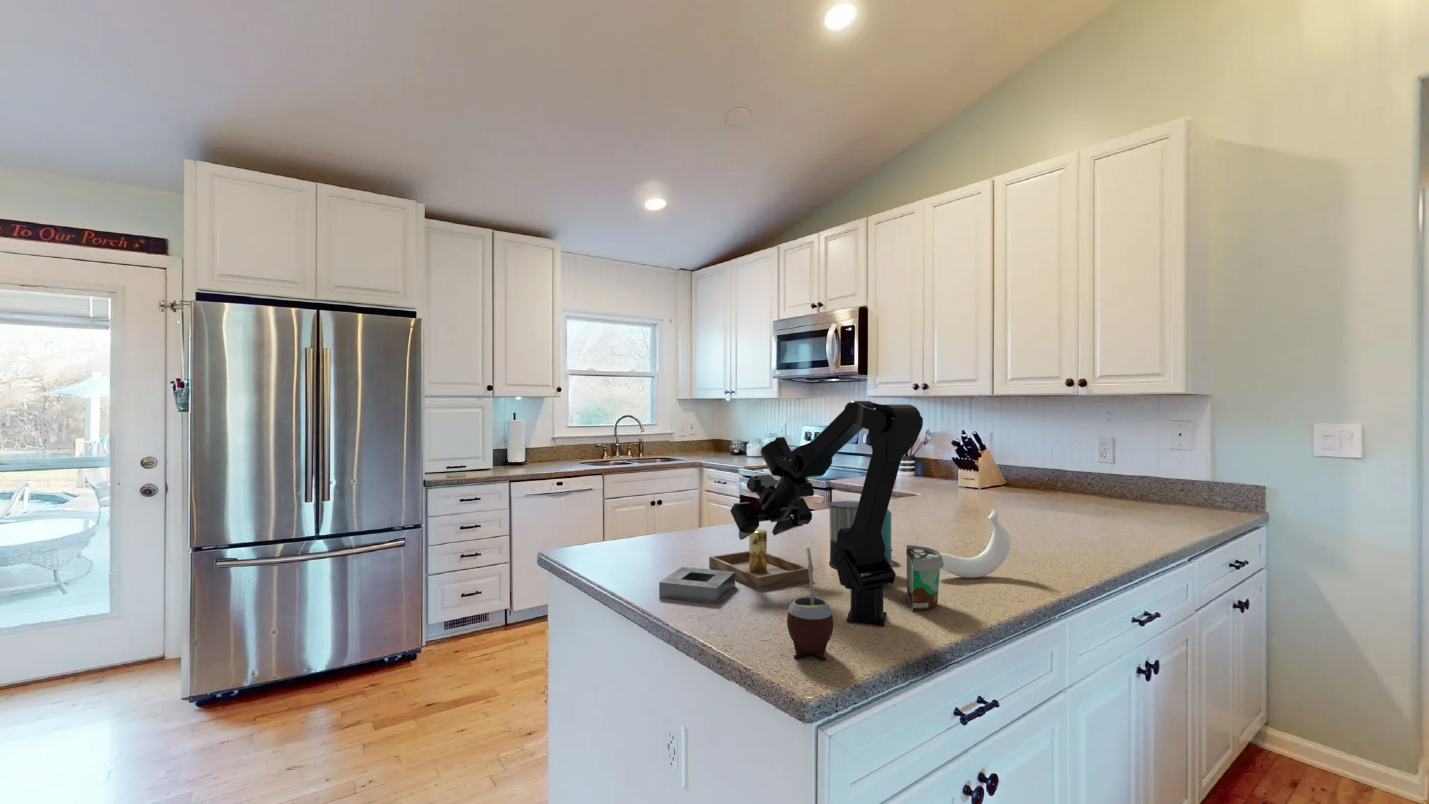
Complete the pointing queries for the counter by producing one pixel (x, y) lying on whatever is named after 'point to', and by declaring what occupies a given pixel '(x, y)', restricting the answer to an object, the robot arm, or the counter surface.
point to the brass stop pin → (758, 552)
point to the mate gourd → (810, 623)
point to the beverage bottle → (885, 538)
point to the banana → (981, 555)
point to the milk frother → (840, 522)
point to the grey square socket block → (697, 585)
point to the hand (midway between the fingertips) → (757, 535)
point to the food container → (923, 577)
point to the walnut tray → (776, 573)
